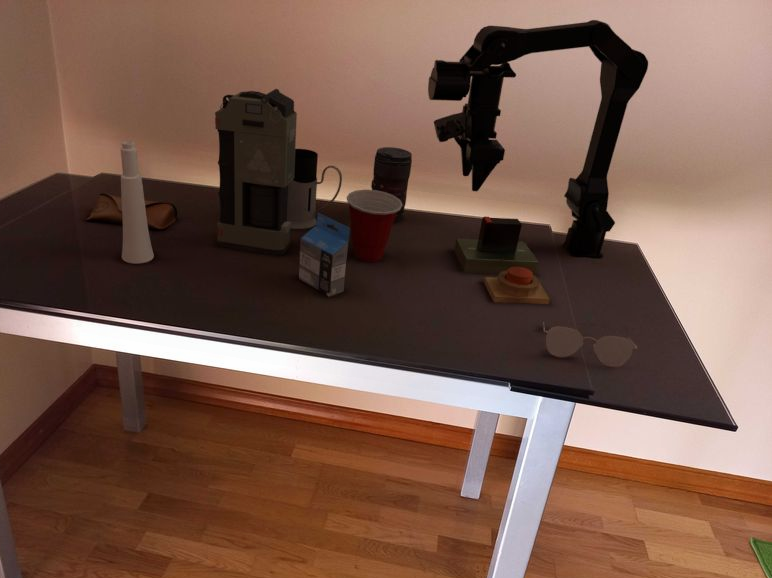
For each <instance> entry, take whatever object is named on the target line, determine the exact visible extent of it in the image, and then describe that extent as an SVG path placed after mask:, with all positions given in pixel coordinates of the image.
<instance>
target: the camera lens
mask: <svg viewBox="0 0 772 578" xmlns="http://www.w3.org/2000/svg"><path fill="white" fill-rule="evenodd" d="M412 156H413V154H412V152H411V151H409V150H406V149H404V148H399V147H393V146H392V147H391V146H385V147H379V148H377V150H376V153H375V155H374V161H373V173H372V175H373V178H372V180H371V184H370V189H371V190H377V191H382V192H386V193H388V194H391V195H393V196H395V197H397V198H398V199H399V200H401V202H402V204H403V205H402V207H401V209H400V211H398V213H397V215H396V217H395V219H394V222H393V223H397V222H399V221H400V220H401V219H402V217H403V214H404V211H405V208H406V204H407V196H408V195H407V194H408V186H409V179H410V177H411V170H412V163H413V161H412Z"/></svg>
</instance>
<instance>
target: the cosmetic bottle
mask: <svg viewBox="0 0 772 578" xmlns="http://www.w3.org/2000/svg"><path fill="white" fill-rule="evenodd" d="M135 143H136V142H135V141H132V140H124V141H122V142H121V146H122V147H121V148H120V158H121V169H122V173H121V175H120V190H121V191H120V195H121V196H120V197H121V198H122V219H123V225H122V250H121V260H122V261H124V262H126V263H127V264H136V265H137V264H144V263H149V262H150V261H152V260H153V259H154V257H155V254H154V251H153V247H152V242H151V237H150V231H149V229H148V224H147V217H146V209H145V201H144V200H145V194H144V193H145V192H144V186H143V178H142V174H140V171H139V163H138V162H139V160H138V149H137V147H136V146H135V145H136V144H135Z"/></svg>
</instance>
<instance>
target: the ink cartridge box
mask: <svg viewBox="0 0 772 578" xmlns="http://www.w3.org/2000/svg"><path fill="white" fill-rule="evenodd" d="M329 226H333V228H334V229H337V231H336V230H334V229H333V228H330V227H329ZM350 232H351V227H349V226H346V225H345V224H343V223H340V222H339V221H336V220H334V219H332V218H331V217H328V216H326V215H324V214H322V213H320V212H317V213H316V225H315V226H313V227H311V229H310V230H309V231H308V232H306V233H305V234H304V235H303V236H301V238H300V242H299V243H300V245H299V246H300V247H299V248H300V249H299V267H298V279H299V280H300V281H301V282H303V283H304V284H307V285H309V286H311V287H312V288H314V289H315V290H317V291H318V292H321V293H322V294H324V295H325V296H327V297H334V296H337V295H339V294H342V293H344V291H345V282H346V281H345V280H346V268H347V260H348V259H347V257H348V248H349V239H350Z"/></svg>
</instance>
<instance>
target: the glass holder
mask: <svg viewBox="0 0 772 578" xmlns="http://www.w3.org/2000/svg"><path fill="white" fill-rule="evenodd" d="M318 156H319V154H318V152H316V151H314V150H311V149H306V148H295V170H294V179H293V180H292V181H291V182H290V183H289V184H288V204H287V222H291V228H290V229H293V230H305V229H310V228H311V229H312V228H314V227H315V226H316V221H317V217H316V215H317V213H319V211H321V210H323V209H325V208H326V207H328V206H329V205H331V204H332V203H333V202H335V200H336V198H337V197H338V195H339V193H340V190H341V187H342V182H343V175H342V171H341V170H340V169H339V167H337V166H335V165H328V166H326V167H325V168H323V170H322V173H321V177H320V178H321V179H320V181H318V177H317V176H318V175H317V174H318V158H319V157H318ZM328 169H334V170H335V171H336V172H337V173H338V175H339V183H338V187H337V190H336V192H335V194H334V196H333V197H332V198H331V199H330V201H328V202H327V203H326V204H324V205H322V206H321V207H319V208H318V209H316V208H317V207H316V206H317V191H318V185H321V184H322V183H323V182H324V180H325V174H326V171H327V170H328Z"/></svg>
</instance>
